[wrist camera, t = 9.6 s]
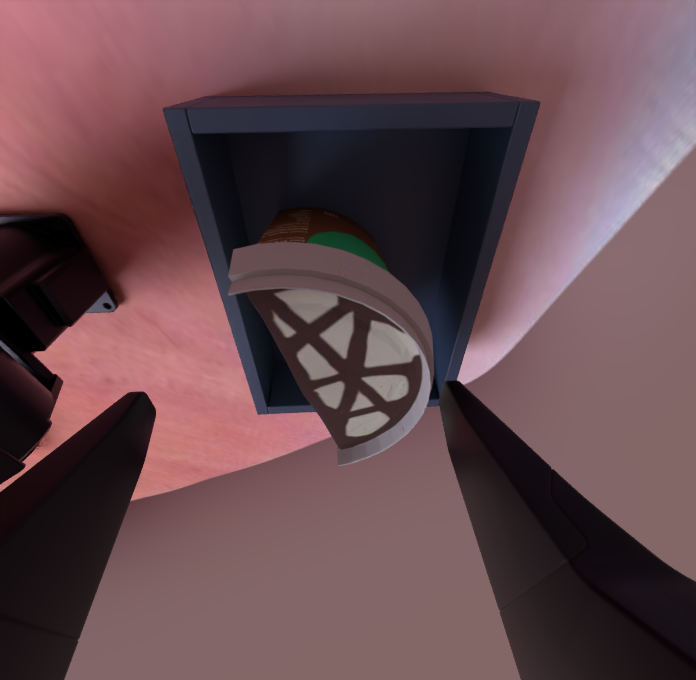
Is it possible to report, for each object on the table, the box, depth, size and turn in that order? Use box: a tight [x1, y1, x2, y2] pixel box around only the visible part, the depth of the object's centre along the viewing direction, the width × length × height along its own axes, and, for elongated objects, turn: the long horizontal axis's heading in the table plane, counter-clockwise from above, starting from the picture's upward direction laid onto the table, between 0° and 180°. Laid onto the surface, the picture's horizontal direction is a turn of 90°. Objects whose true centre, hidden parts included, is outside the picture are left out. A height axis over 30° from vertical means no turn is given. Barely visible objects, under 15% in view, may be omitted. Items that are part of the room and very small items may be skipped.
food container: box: [228, 207, 434, 466], centre depth 17 cm, size 12×6×10 cm, turn 17°
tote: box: [163, 92, 540, 415], centre depth 19 cm, size 14×18×5 cm
